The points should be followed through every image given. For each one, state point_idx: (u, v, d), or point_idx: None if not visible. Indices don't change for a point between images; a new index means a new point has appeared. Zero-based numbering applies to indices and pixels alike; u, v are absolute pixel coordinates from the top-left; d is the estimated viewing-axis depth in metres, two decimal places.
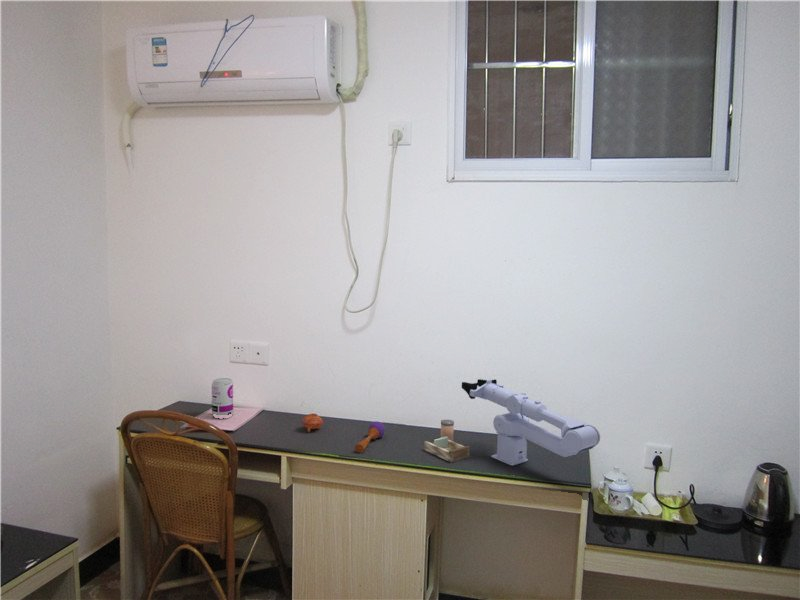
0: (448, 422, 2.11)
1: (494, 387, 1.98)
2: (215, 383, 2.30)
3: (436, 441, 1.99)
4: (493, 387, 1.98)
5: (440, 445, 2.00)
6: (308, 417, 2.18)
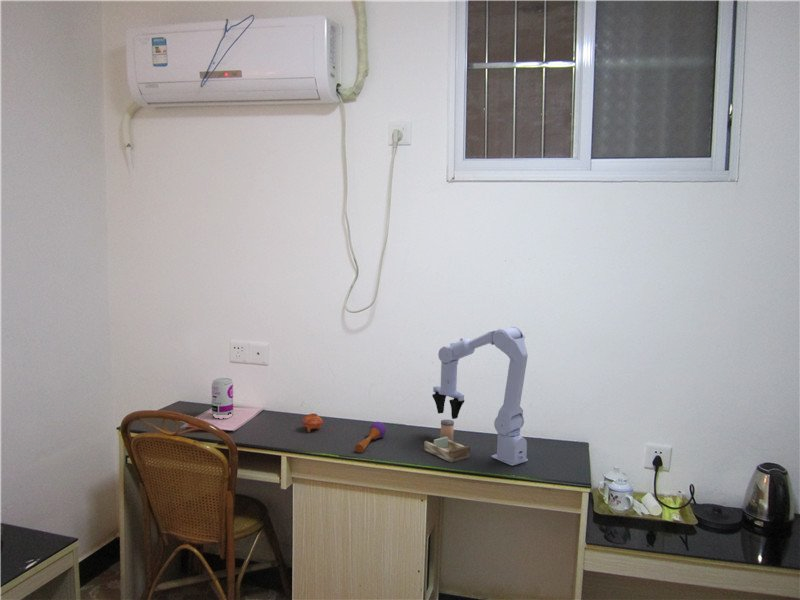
0: (448, 422, 2.11)
1: (445, 383, 2.08)
2: (215, 383, 2.30)
3: (436, 441, 1.99)
4: (445, 384, 2.08)
5: (440, 445, 2.00)
6: (308, 417, 2.18)
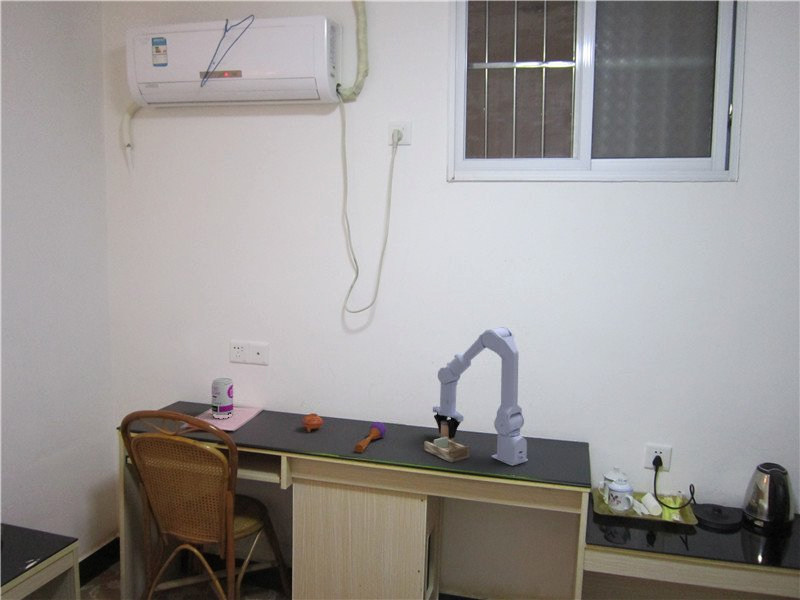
0: None
1: (444, 403, 2.08)
2: (215, 383, 2.30)
3: (436, 441, 1.99)
4: (445, 404, 2.08)
5: (440, 445, 2.00)
6: (308, 417, 2.18)
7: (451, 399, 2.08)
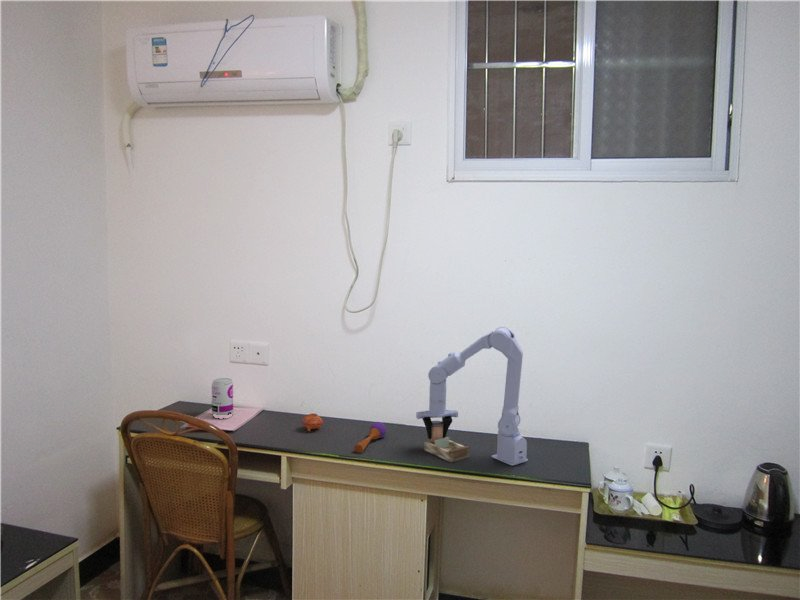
0: (439, 422, 2.02)
1: (442, 404, 1.99)
2: (215, 383, 2.30)
3: (437, 441, 1.99)
4: (443, 405, 2.00)
5: (441, 445, 2.00)
6: (308, 417, 2.18)
7: (443, 399, 1.99)
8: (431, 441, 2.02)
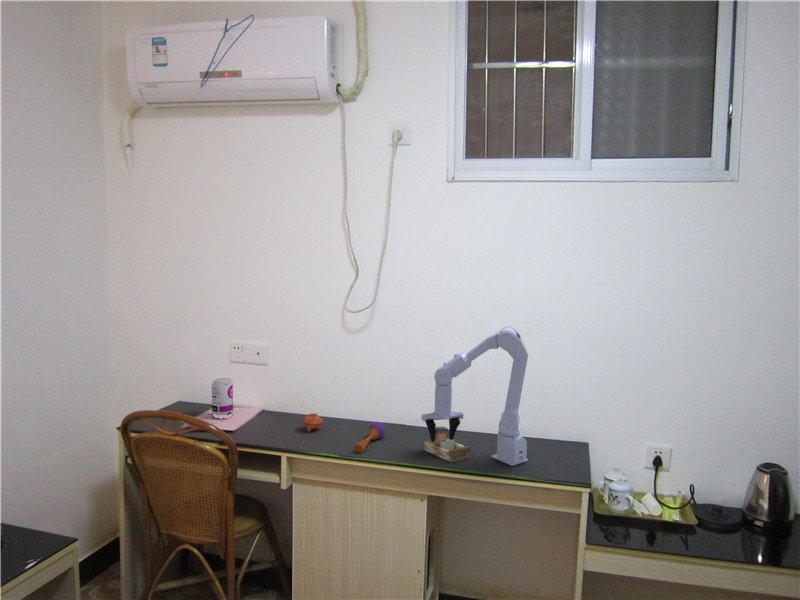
0: (443, 428, 2.01)
1: (448, 406, 1.97)
2: (215, 383, 2.30)
3: (442, 444, 1.97)
4: (449, 406, 1.97)
5: (446, 448, 1.98)
6: (308, 417, 2.18)
7: (449, 400, 1.97)
8: None
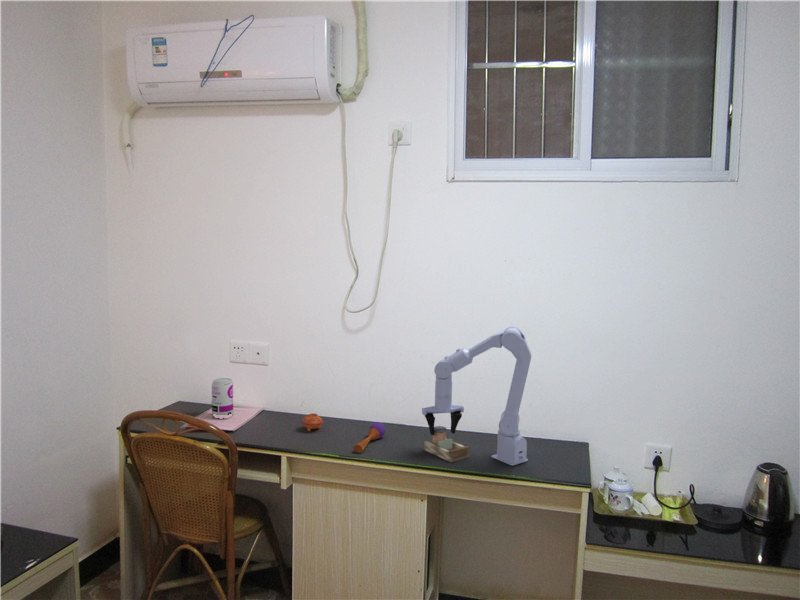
0: (442, 428, 2.01)
1: (449, 399, 1.97)
2: (215, 383, 2.30)
3: (440, 443, 1.98)
4: (449, 400, 1.97)
5: (444, 447, 1.99)
6: (308, 417, 2.18)
7: (449, 394, 1.97)
8: None
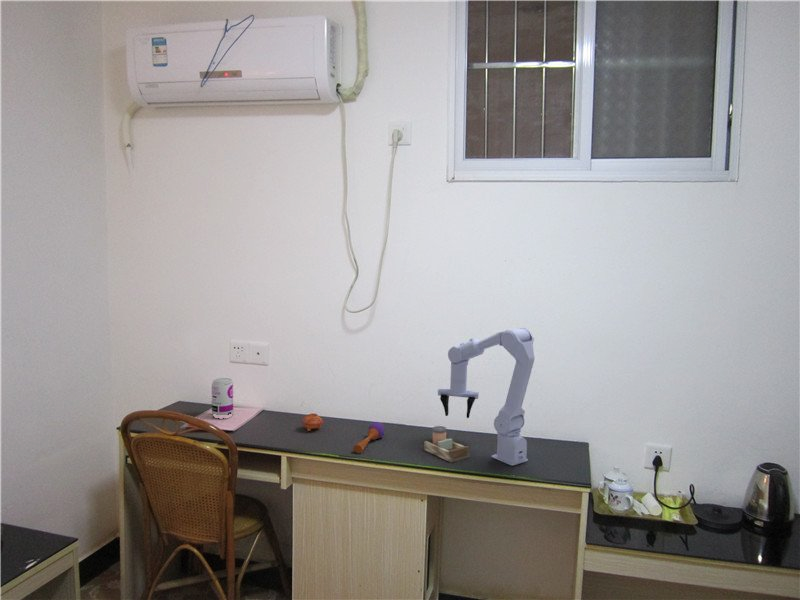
0: (442, 428, 2.01)
1: (460, 383, 2.06)
2: (215, 383, 2.30)
3: (440, 443, 1.98)
4: (460, 384, 2.06)
5: (444, 447, 1.99)
6: (308, 417, 2.18)
7: (461, 379, 2.06)
8: None
